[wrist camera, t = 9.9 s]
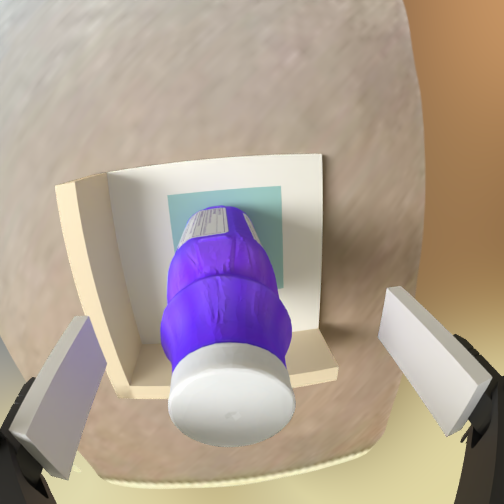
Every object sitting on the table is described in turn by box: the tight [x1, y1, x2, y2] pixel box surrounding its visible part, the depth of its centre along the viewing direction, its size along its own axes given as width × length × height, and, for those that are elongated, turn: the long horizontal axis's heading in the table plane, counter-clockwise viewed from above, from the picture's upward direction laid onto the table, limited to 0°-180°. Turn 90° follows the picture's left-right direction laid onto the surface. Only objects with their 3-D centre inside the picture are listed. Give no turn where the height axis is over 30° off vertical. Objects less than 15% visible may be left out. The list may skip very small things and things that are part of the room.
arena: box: [55, 154, 339, 399], centre depth 23 cm, size 18×19×7 cm
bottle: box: [160, 205, 296, 447], centre depth 16 cm, size 7×6×17 cm
